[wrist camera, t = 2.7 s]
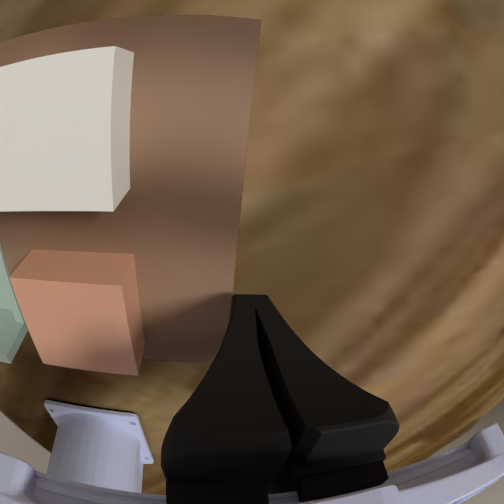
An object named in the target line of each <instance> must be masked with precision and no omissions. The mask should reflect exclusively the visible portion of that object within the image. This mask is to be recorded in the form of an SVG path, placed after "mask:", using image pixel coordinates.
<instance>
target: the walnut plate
mask: <svg viewBox="0 0 504 504" xmlns="http://www.w3.org/2000/svg"><path fill="white" fill-rule="evenodd" d="M260 28H261V20H258V19H250V18H240V17H227V16H211V15H151V16H134V17H123V18H113V19H104V20H97V21H90V22H83V23H77V24H72V25H66V26H61V27H56V28H52V29H47V30H43V31H39V32H35V33H31V34H27V35H24V36H20V37H17V38H13V39H10V40H7V41H3V42H0V67H2V66H6V65H9V64H13V63H17V62H21V61H25V60H29V59H34V58H38V57H43V56H48V55H53V54H59V53H64V52H71V51H77V50H84V49H92V48H100V47H110V46H116V47H119V48H122V49H125V50H128V51H131V52H134V59H133V71H132V86H131V106H130V189H129V191H128V192H127V193H126V195H125V196H124V198H123V199H122V200H121V202H120V203H119V205H118V206H117V207H116V209H115V210H114V212H110V211H7V212H0V245H1V249H2V253H3V256H4V260H5V263H6V267H7V270H8V274H9V277H10V276H11V275H12V273H13V272H14V271H15V270H16V268H17V267H18V266H19V265H20V263H21V262H22V261H23V260H24V259H25V257H26V256H27V255H28V254H29V253H30V251H31V250H54V251H76V252H100V253H124V254H134V259H135V269H136V279H137V288H138V296H139V304H140V312H141V319H142V326H143V333H144V339H145V344H144V349H143V355H142V359H144V360H159V361H179V362H211V363H212V362H213V361H214V359H215V357H216V355H217V352H218V350H219V348H220V346H221V343H222V341H223V338H224V335H225V333H226V330H227V327H228V323H229V320H230V312H231V300H232V296H233V286H234V275H235V264H236V253H237V242H238V232H239V221H240V211H241V201H242V191H243V181H244V171H245V162H246V152H247V142H248V133H249V124H250V115H251V106H252V96H253V88H254V79H255V70H256V61H257V53H258V44H259V36H260Z"/></svg>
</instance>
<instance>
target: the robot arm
mask: <svg viewBox="0 0 504 504" xmlns="http://www.w3.org/2000/svg"><path fill="white" fill-rule="evenodd" d="M44 406H45V408H46V409H47V411H48V412H49V414H50V415H51V417H52V418H53V420H54V421H55V423H56V424H57V426H58V429H57V433H56V436H55V440H54V444H53V449H52V453H51V457H50V462H49V466H48V471H47V474H44V473H41V472H37V471H35V469H34V468H33V467H32V466H31V465H30V464H28V463H27V462H25V461H23V460H21V459H19V458H16V457H13V456H10V455H7V454H5V453H2V452H0V504H460V503H462V502H464V501H466V500H467V499H469V498H471V497H473V496H474V495H476V494H478V493H480V492H481V491H483V490H484V489H486V488H487V487H489V486H490V485H491V484H493V483H494V482H496V481H497V480H499V479H500V478H501V477H503V476H504V435H503V433H502V432H501V430H500V428H499V426H498V424H497V423H494V424H492V425H490V426H488V427H486V428H484V429H482V430H480V431H479V432H478V433H476V434H475V435H474V436H473V437H471V439H470V440H469V441H468V442H467V443H464V444H462V445H460V446H458V447H455V448H453V449H451V450H448V451H446V452H443V453H441V454H438V455H436V456H433V457H430V458H428V459H425V460H422V461H419V462H417V463H414V464H411V465H408V466H405V467H402V468H398V469H395V470H392V471H389V472H387V471H386V469H385V466H384V463H383V460H385V459H386V456H385V453H384V450H383V449H384V448H385V447H386V446H387V444H388V443H389V442H390V441H391V440H392V439H393V438H394V437H395V435H396V434H397V432H398V430H399V424H398V421H397V419H396V417H395V414H394V412H393V410H392V408H391V407H390V405H389V403H388V402H387V401H385V400H383V399H381V398H379V397H376V396H374V395H372V394H370V393H368V392H366V391H365V390H363V389H361V388H360V387H358V386H356V385H355V384H353V383H351V382H350V381H348V380H347V379H345V378H344V377H342V376H341V375H340V374H338V373H337V372H336V371H334V370H333V369H331V368H330V367H329V366H328V365H326V364H325V363H324V362H323V361H322V360H321V359H320V358H318V357H317V356H316V355H315V354H314V353H313V352H312V351H311V350H310V349H309V348H308V347H307V346H306V345H305V344H304V343H303V342H302V341H301V339H300V338H299V337H298V336H297V335H296V334H295V333H294V331H293V330H292V329H291V328H290V326H289V325H288V324H287V323H286V321H285V320H284V319H283V317H282V316H281V315H280V313H279V312H278V310H277V309H276V308H275V306H274V305H273V303H272V302H271V300H270V299H269V297H268V296H267V295H245V294H235V295H233V296H232V300H231V312H230V320H229V323H228V327H227V330H226V333H225V335H224V338H223V341H222V343H221V346H220V348H219V350H218V352H217V355H216V357H215V359H214V361H213V362H212V364H211V366H210V368H209V370H208V371H207V373H206V375H205V376H204V378H203V380H202V381H201V383H200V384H199V385H198V387H197V388H196V390H195V391H194V392H193V394H192V395H191V397H190V398H189V399H188V401H187V402H186V403H185V404H184V405H183V406H182V408H181V409H180V410H179V411H178V412H177V413H176V414H175V416H174V417H173V419H172V421H171V424H170V426H169V428H168V430H167V433H166V435H165V438H164V441H163V445H162V450H161V468H162V470H163V473H164V476H165V478H166V495H155V494H145V493H142V475H143V463H144V464H153V462H154V459H153V457H152V454H151V452H150V449H149V446H148V444H147V441H146V438H145V435H144V432H143V430H142V427H141V424H140V421H139V418H138V416H137V415H136V414H133V413H127V412H118V411H110V410H103V409H96V408H89V407H83V406H77V405H71V404H66V403H61V402H56V401H51V400H45V401H44Z"/></svg>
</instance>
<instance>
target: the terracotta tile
mask: <svg viewBox="0 0 504 504" xmlns="http://www.w3.org/2000/svg"><path fill="white" fill-rule="evenodd" d="M9 278H10V281H11V284H12V287H13V290H14V293H15V296H16V299H17V302H18V304H19V307H20V310H21V312H22V315H23V318H24V320H25V323H26V325H27V328H28V330H29V333H30V335H31V337H32V340H33V342H34V344H35V347H36V349H37V351H38V353H39V355H40V358H41V360H42V362H43V363H44V364H49V365H55V366H61V367H67V368H74V369H81V370H88V371H96V372H104V373H113V374H123V375H134V376H139V372H140V366H141V360H142V355H143V349H144V344H145V339H144V333H143V326H142V319H141V312H140V304H139V296H138V288H137V279H136V269H135V259H134V254H124V253H100V252H76V251H54V250H31V251H30V253H29V254H28V255H27V256H26V257H25V259H24V260H23V261H22V262H21V263H20V265H19V266H18V267H17V268H16V270H15V271H14V272H13V273H12V275H11V276H10V277H9Z"/></svg>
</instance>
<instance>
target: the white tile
mask: <svg viewBox="0 0 504 504" xmlns="http://www.w3.org/2000/svg"><path fill="white" fill-rule="evenodd" d="M133 59H134V52H131V51H128V50H125V49H122V48H119V47H116V46H110V47H100V48H92V49H84V50H77V51H71V52H64V53H59V54H53V55H48V56H43V57H38V58H34V59H29V60H25V61H21V62H17V63H13V64H9V65H6V66H2V67H0V212H7V211H110V212H114V210H115V209H116V207H117V206H118V205H119V203H120V202H121V200H122V199H123V198H124V196H125V195H126V193H127V192H128V191H129V189H130V106H131V86H132V71H133Z"/></svg>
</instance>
